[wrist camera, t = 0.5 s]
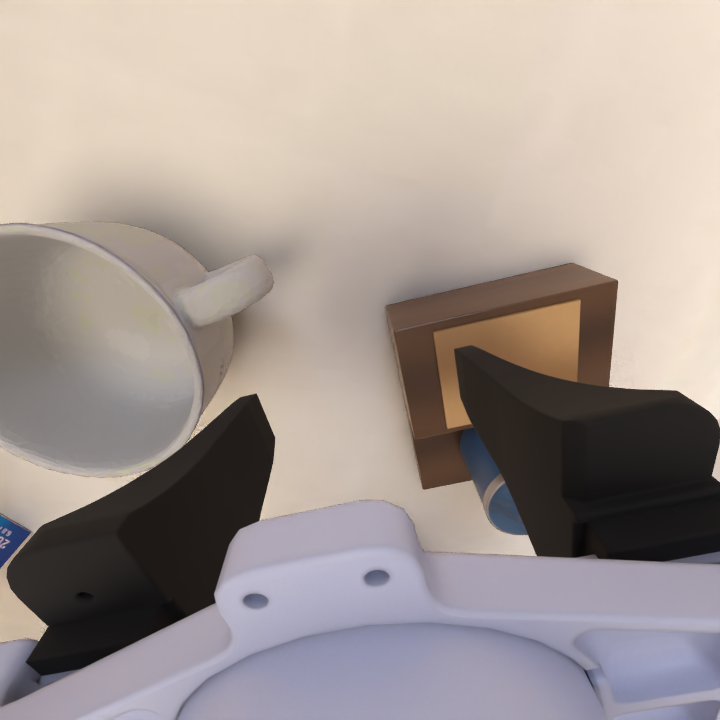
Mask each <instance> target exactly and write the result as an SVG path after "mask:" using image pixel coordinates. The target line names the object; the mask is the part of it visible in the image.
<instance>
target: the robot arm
mask: <svg viewBox="0 0 720 720" xmlns="http://www.w3.org/2000/svg"><path fill="white" fill-rule="evenodd" d="M454 354H455V361H456V369H457V376H458V384H459V391H460V398H461V401H462V403H463V406H464V408H465V410H466V413H467V415H468V418H469V420H470V422H471V423H472V425H473V427H474V429H475V430H476V432H477V434H478V435H479V437H480V439H481V440H482V442H483V444H484V445H485V447H486V449H487V450H488V452H489V454H490V455H491V457H492V459H493V461H494V462H495V464H496V466H497V467H498V469H499V471H500V473H501V475H502V477H503V479H504V481H505V483H506V485H507V487H508V490H509V492H510V494H511V496H512V499H513V501H514V503H515V505H516V508H517V510H518V512H519V515H520V517H521V519H522V522H523V524H524V526H525V528H526V531H527V533H528V536H529V538H530V540H531V543H532V545H533V548H534V550H535V553H536V555H537V556H520V555H498V554H475V553H452V552H430V551H424V550H423V549H422V548H421V546H420V544H419V541H418V538H417V534H416V530H415V525H414V523H413V521H412V520H411V518H410V517H409V516H408V514H407V513H406V511H405V510H404V509H403V508H401V507H398V506H396V505H394V504H391V503H389V502H387V501H384V500H359V501H354V502H349V503H344V504H339V505H334V506H329V507H324V508H320V509H315V510H310V511H305V512H300V513H295V514H290V515H285V516H280V517H275V518H271V519H266V520H261V521H259V518H260V514H261V510H262V506H263V502H264V498H265V494H266V490H267V486H268V482H269V478H270V473H271V469H272V465H273V459H274V448H275V436H274V434H273V432H272V429H271V427H270V425H269V422H268V420H267V417H266V415H265V413H264V410H263V408H262V405H261V403H260V401H259V398H258V396H257V394H253V395H249V396H244V397H240V398H239V399H237V400H236V401H235V402H233V403H232V404H231V405H230V406H229V407H228V408H226V409H225V410H224V411H223V412H222V413H221V414H220V415H219V416H218V417H217V418H215V419H214V420H213V421H212V422H211V423H210V424H209V425H208V426H207V427H205V428H204V429H203V430H202V431H201V432H200V433H198V434H197V435H196V436H195V437H194V438H193V439H191V440H190V441H189V442H188V443H187V444H185V445H184V446H183V447H182V448H180V449H179V450H178V451H177V452H175V453H174V454H173V455H171V456H170V457H168V458H167V459H166V460H164V461H163V462H161V463H160V464H159V465H157V466H156V467H154V468H153V469H151V470H149V471H148V472H146V473H145V474H143V475H141V476H140V477H138V478H136V479H135V480H133V481H132V482H130V483H128V484H127V485H125V486H123V487H121V488H120V489H118V490H116V491H114V492H112V493H110V494H109V495H107V496H105V497H103V498H101V499H99V500H97V501H95V502H93V503H91V504H89V505H87V506H85V507H83V508H80V509H78V510H76V511H74V512H71V513H69V514H67V515H65V516H62V517H60V518H58V519H56V520H53V521H51V522H49V523H46V524H44V525H42V526H41V527H40V528H39V529H38V530H37V532H36V533H35V534H34V535H33V536H32V537H31V539H30V540H29V541H28V542H27V543H26V544H25V546H24V547H23V548H22V549H21V550H20V551H19V553H18V554H17V555H16V556H15V557H14V558H13V560H12V561H11V563H10V564H9V566H8V568H7V580H8V583H9V585H10V588H11V590H12V591H13V592H14V593H15V595H16V596H17V597H18V598H19V599H20V600H21V601H22V602H23V603H24V604H25V605H26V606H27V607H28V608H29V609H30V610H32V611H33V612H34V613H35V614H36V615H37V616H38V617H39V618H40V619H41V620H42V621H43V622H44V623H45V624H46V625H47V626H49V627H48V628H47V630H46V631H45V633H44V634H43V636H42V638H41V639H40V641H37V640H33V639H19V640H13V641H8V642H3V643H0V720H720V482H719V481H717V480H716V479H715V478H714V477H712V472H713V468H714V464H715V460H716V456H717V452H718V448H719V444H720V427H719V424H718V421H717V419H716V418H715V417H714V416H713V415H712V414H711V413H710V412H709V411H708V410H706V409H705V408H703V407H701V406H700V405H698V404H697V403H695V402H694V401H692V400H691V399H689V398H688V397H686V396H684V395H683V394H681V393H680V392H678V391H671V390H638V389H624V388H614V387H605V386H597V385H590V384H585V383H579V382H573V381H569V380H564V379H560V378H556V377H552V376H548V375H545V374H541V373H538V372H535V371H532V370H529V369H526V368H524V367H521V366H518V365H516V364H513V363H511V362H508V361H506V360H504V359H502V358H499V357H497V356H495V355H493V354H491V353H488V352H486V351H484V350H482V349H480V348H478V347H475V346H473V345H469V346H465V347H460V348H456V349H454Z"/></svg>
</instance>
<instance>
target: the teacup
mask: <svg viewBox="0 0 720 720" xmlns="http://www.w3.org/2000/svg"><path fill="white" fill-rule="evenodd" d="M273 284H274V281H273V277H272V273H271V271H270V270H269V268H268V267H267V265H266V264H265V262H264V261H263V260H262V259H261V258H260V257H259V256H256V255H250V256H247V257H245V258H242V259H239V260H237V261H235V262H233V263H230V264H228V265H226V266H224V267H221V268H219V269H216V270H213V271H210V272H208V271H207V270H206V269H205V268H204V266H203V265H201V264H200V263H199V262H198V261H197V260H196V259H195V258H194V257H193V256H192V255H191V254H189V253H188V252H187V251H186V250H185V249H183V248H182V247H180V246H179V245H177V244H176V243H174V242H172V241H171V240H169V239H167V238H165V237H163V236H161V235H159V234H157V233H154V232H152V231H149V230H146V229H143V228H139V227H135V226H131V225H126V224H121V223H113V222H64V223H48V224H38V225H36V224H29V223H10V224H0V447H2V448H3V449H5V450H6V451H8V452H10V453H11V454H13V455H15V456H17V457H19V458H22V459H24V460H26V461H29V462H31V463H33V464H36V465H38V466H41V467H44V468H47V469H49V470H54V471H58V472H61V473H66V474H72V475H77V476H83V477H97V478H105V477H121V476H127V475H131V474H136V473H140V472H143V471H146V470H150V469H151V468H153V467H154V466H157V465H159V464H160V463H161V462H163V461H164V460H166V459H167V458H168V457H170V456H171V455H173V454H174V453H175V452H177V451H178V450H179V449H180V448H182V447H183V445H184V444H185V443H186V442H187V441H188V440H189V439H190V436H191V434H192V432H193V431H194V429H195V427H196V425H197V423H198V421H199V418H200V416H201V415H202V413H203V412H204V410H205V409H206V407H207V406H208V404H209V403H210V401H211V400H212V398H213V396H214V395H215V393H216V391H217V390H218V388H219V386H220V385H221V383H222V381H223V379H224V377H225V375H226V372H227V369H228V367H229V364H230V361H231V356H232V351H233V342H234V333H233V324H232V318H231V315H234V314H236V313H238V312H240V311H242V310H243V309H245V308H247V307H249V306H250V305H252V304H254V303H255V302H257V301H258V300H260V299H261V298H263V297H264V296H265V295H266V294H267V293H269V292H270V290H271V289H272V287H273Z"/></svg>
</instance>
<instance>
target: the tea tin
mask: <svg viewBox="0 0 720 720" xmlns="http://www.w3.org/2000/svg"><path fill="white" fill-rule="evenodd" d="M460 451H461V454H462V456H463V459H464V461H465V463H466V466H467V468H468V470H469V473H470V475H471V477H472V480H473V482H474V485H475V487H476V489H477V492H478V494H479V496H480V499H481V501H482V503H483V507H484V510H485V513H486V515H487V517H488V520H489V521H490V523H491V524H492V525H493V526H494V527H496V528H497V529H498V530H500V531H502V532H505V533H508V534H513V535H528V533H527V531H526V528H525V526H524V524H523V522H522V519H521V517H520V515H519V512H518V510H517V508H516V505H515V503H514V501H513V499H512V496H511V494H510V492H509V490H508V487H507V485H506V483H505V481H504V479H503V477H502V475H501V473H500V471H499V469H498V467H497V466H496V464H495V462H494V461H493V459H492V457H491V455H490V454H489V452H488V450H487V449H486V447H485V445H484V444H483V442H482V440H481V439H480V437H479V435H478V434H477V432H476V430H475V429H474V428H469V429H465V430H464V431H463V433H462V435H461V439H460Z"/></svg>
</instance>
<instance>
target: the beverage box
mask: <svg viewBox="0 0 720 720" xmlns="http://www.w3.org/2000/svg"><path fill="white" fill-rule="evenodd" d="M30 533H31V531H29V530H27V529H25V528H24V527H22V526H20V525H19V524H17V523H15V522H13V521H12V520H10V519H8V518H6V517H5V516H3V515H1V514H0V568H1V567H2V566H3V565H4V563H5V562H6V561H7V560H8V559H9V558H10V556H11V555H12V554H13V553H14V552H15V551H16V550H17V548H18V547H19V546H20V545H21V544H22V543H23V541H24V540H25V539H26V538H27V537H28V536H29V534H30Z"/></svg>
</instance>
